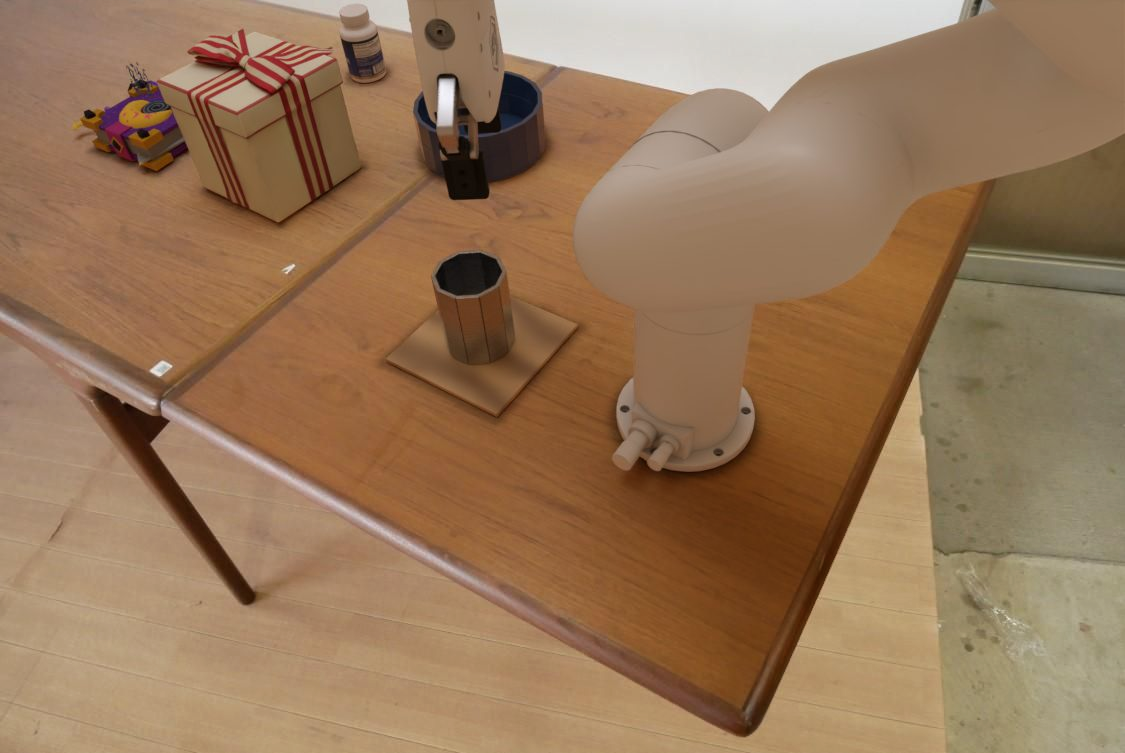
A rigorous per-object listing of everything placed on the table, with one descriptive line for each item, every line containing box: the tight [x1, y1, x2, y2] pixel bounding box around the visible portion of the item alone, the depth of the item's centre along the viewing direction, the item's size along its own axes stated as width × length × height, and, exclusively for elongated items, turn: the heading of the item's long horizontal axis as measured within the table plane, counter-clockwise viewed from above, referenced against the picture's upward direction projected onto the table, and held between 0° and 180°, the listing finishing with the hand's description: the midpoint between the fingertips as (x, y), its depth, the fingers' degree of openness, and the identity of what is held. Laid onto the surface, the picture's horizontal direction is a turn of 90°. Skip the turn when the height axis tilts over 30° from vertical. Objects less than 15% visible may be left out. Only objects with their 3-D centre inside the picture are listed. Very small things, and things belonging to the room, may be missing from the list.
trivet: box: [385, 295, 579, 418], centre depth 86 cm, size 14×14×1 cm
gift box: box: [156, 28, 362, 223], centre depth 102 cm, size 17×18×17 cm
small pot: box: [430, 249, 515, 365], centre depth 82 cm, size 7×7×9 cm
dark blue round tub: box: [412, 70, 547, 183], centre depth 108 cm, size 16×16×6 cm
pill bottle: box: [338, 3, 387, 84], centre depth 121 cm, size 5×5×10 cm
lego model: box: [71, 58, 188, 172], centre depth 111 cm, size 15×25×12 cm, turn 59°
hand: (477, 163), depth 70 cm, fingers open, 9 cm apart
